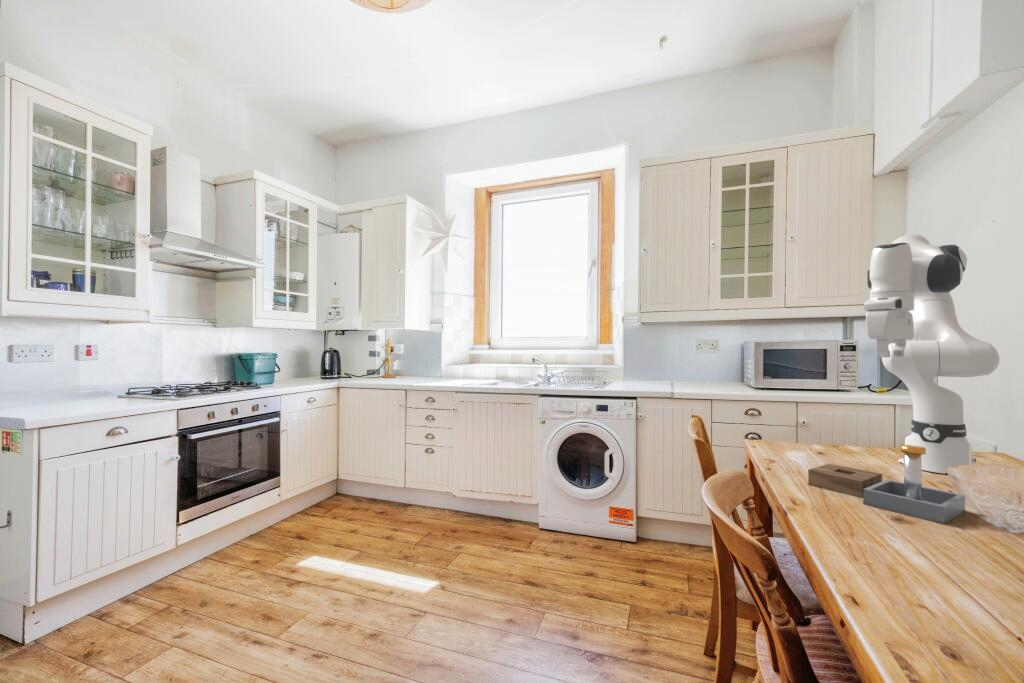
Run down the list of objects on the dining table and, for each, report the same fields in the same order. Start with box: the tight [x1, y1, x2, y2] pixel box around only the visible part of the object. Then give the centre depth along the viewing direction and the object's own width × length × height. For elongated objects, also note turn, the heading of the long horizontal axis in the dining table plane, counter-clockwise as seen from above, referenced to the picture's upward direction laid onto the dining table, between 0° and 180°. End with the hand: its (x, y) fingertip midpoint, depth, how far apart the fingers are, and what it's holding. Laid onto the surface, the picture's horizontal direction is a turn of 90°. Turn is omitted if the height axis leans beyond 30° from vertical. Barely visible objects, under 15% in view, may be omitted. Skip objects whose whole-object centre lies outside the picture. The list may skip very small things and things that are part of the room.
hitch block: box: [807, 463, 883, 498], centre depth 117 cm, size 12×12×4 cm
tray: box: [863, 479, 966, 525], centre depth 102 cm, size 14×14×4 cm
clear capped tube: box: [899, 444, 926, 501], centre depth 102 cm, size 4×4×13 cm
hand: (891, 357), depth 117 cm, fingers open, 8 cm apart
